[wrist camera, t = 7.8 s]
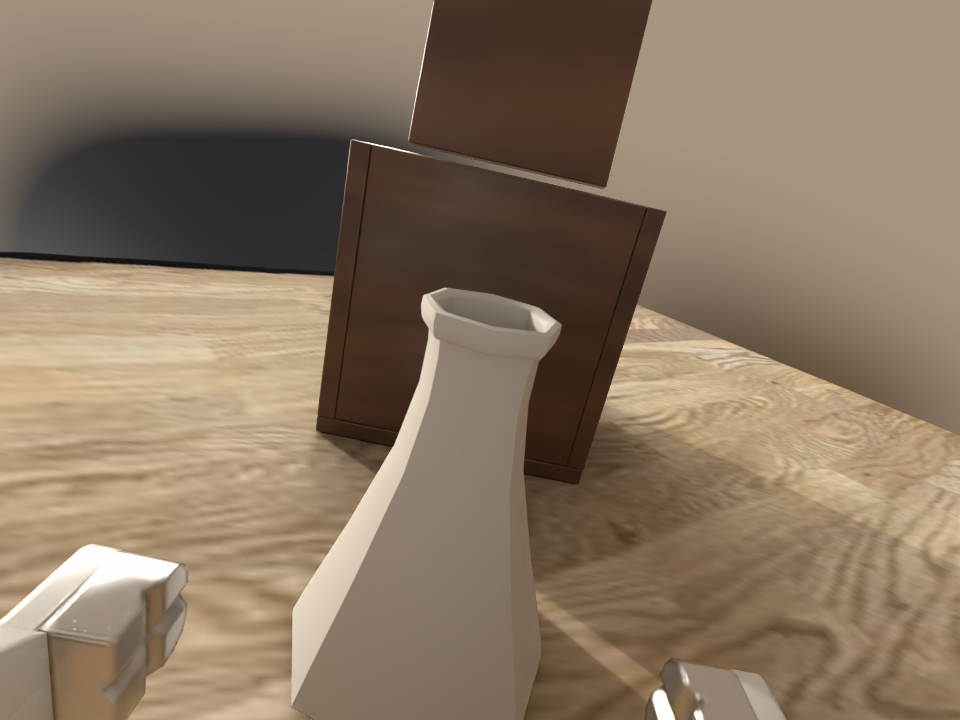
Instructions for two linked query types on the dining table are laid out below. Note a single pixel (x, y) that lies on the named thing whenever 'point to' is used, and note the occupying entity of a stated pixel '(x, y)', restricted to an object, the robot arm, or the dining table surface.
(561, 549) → the dining table surface
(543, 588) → the dining table surface
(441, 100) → the lid
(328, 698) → the flask
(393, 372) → the chest
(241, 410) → the dining table surface
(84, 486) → the dining table surface
